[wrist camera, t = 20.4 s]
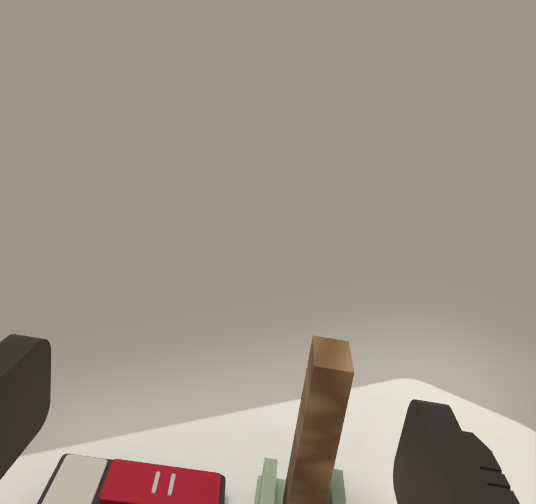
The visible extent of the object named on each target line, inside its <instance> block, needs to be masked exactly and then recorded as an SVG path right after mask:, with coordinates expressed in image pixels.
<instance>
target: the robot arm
mask: <svg viewBox="0 0 536 504" xmlns="http://www.w3.org/2000/svg"><path fill="white" fill-rule="evenodd" d="M50 383H51V346H50V343H49V341H48V340H46V339H40V338H35V337H28V336H22V335H16V334H12V335H9V336H8V337H6V338H5V339H4V340H3V341H2V342H0V479H1V478H2V477H3V476H4V474H5V473H6V472H7V471H8V469H9V468H10V467H11V466H12V465H13V463H14V462H15V461H16V460H17V458H18V457H19V456H20V455H21V453H22V452H23V451H24V449H25V448H26V447H27V446H28V445H29V443H30V442H31V441H32V439H33V438H34V437H35V436H36V435H37V433H38V432H39V431H40V429H41V428H42V426H43V424H44V422H45V420H46V417H47V414H48V411H49V407H50V385H51V384H50ZM393 484H394V491H395V495H396V499H397V503H398V504H520V503H519V501H518V500H517V498H516V496H515V494H514V492H513V491H511V490H510V485H509V483H508V481H507V479H506V477H505V475H504V474H502V470H501V468H500V466H499V464H498V462H497V461H496V459H495V457H494V455H493V453H492V451H491V450H490V449H489V448H488V447H487V446H486V445H485V444H484V443H483V442H482V441H481V440H479V439H478V438H477V437H476V436H475V435H474V434H473V433H471V432H465V431H462V430H461V428H460V426H459V424H458V422H457V420H456V418H455V416H454V413H453V411H452V409H451V408H450V406H449V405H446V404H440V403H434V402H427V401H421V400H415V399H414V400H412V401H411V402H410V404H409V407H408V410H407V414H406V418H405V422H404V425H403V429H402V433H401V437H400V441H399V445H398V449H397V452H396V456H395V461H394V469H393Z"/></svg>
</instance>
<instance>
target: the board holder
mask: <svg viewBox="0 0 536 504" xmlns="http://www.w3.org/2000/svg"><path fill="white" fill-rule="evenodd" d="M276 473H277V460H276V459H270V458H265V460H264V466H263V472H262V476H259V475H258V481H257V488H256V496H255V504H282V503H283V495H284V489H285V484H286V480H283V479H277V478H276ZM326 504H346V499H345V489H344V480H343V470H337V469H333V473H332V477H331V482H330V487H329V491H328V496H327V500H326Z"/></svg>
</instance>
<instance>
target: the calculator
mask: <svg viewBox="0 0 536 504" xmlns="http://www.w3.org/2000/svg"><path fill="white" fill-rule="evenodd" d="M224 495H225V477H224V476H223V475H221V474H220V473H215V472H208V471H201V470H193V469H186V468H179V467H172V466H164V465H157V464H150V463H143V462H135V461H128V460H121V459H114V460H110V459H103V458H96V457H88V456H81V455H74V454H64V455H63V456H62V457H61V459H60V461H59V463H58V465H57V467H56V468H55V470H54V472H53V474H52V476H51V478H50V480H49V482H48V484H47V486H46V488H45V489H44V491H43V493H42V495H41V497H40V499H39V501H38V503H37V504H224Z"/></svg>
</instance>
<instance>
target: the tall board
mask: <svg viewBox="0 0 536 504" xmlns="http://www.w3.org/2000/svg"><path fill="white" fill-rule="evenodd" d="M353 376H354V368H353V363H352V357H351V352H350V346H349V342H348V341H342V340H336V339H330V338H324V337H317V336H313V338H312V344H311V349H310V354H309V360H308V365H307V370H306V376H305V381H304V387H303V392H302V397H301V403H300V408H299V414H298V419H297V424H296V430H295V435H294V441H293V446H292V451H291V457H290V462H289V468H288V473H287V479H286V484H285V489H284V495H283V503H282V504H326V500H327V496H328V491H329V487H330V482H331V477H332V473H333V468H334V464H335V459H336V454H337V450H338V445H339V441H340V436H341V431H342V427H343V422H344V418H345V413H346V408H347V404H348V399H349V395H350V390H351V385H352V381H353Z"/></svg>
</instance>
